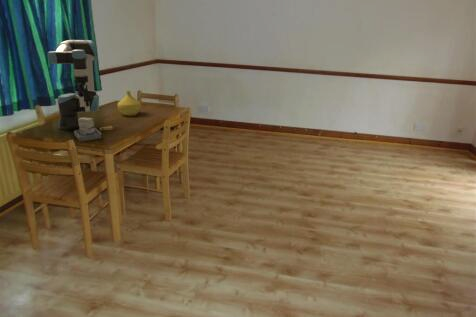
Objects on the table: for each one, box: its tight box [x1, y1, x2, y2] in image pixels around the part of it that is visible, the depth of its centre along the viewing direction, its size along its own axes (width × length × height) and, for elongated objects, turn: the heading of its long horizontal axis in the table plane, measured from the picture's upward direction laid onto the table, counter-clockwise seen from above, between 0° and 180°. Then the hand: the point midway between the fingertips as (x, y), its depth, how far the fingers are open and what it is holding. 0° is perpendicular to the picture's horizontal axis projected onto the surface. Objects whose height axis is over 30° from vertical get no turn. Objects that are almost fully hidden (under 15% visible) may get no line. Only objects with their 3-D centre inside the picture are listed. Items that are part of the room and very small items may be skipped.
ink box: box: [78, 116, 95, 136], centre depth 242 cm, size 9×5×12 cm, turn 72°
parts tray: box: [73, 127, 103, 143], centre depth 243 cm, size 16×14×3 cm
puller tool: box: [98, 125, 114, 132], centre depth 260 cm, size 8×4×2 cm, turn 125°
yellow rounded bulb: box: [117, 90, 142, 117], centre depth 299 cm, size 18×18×19 cm
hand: (85, 108), depth 237 cm, fingers open, 13 cm apart
